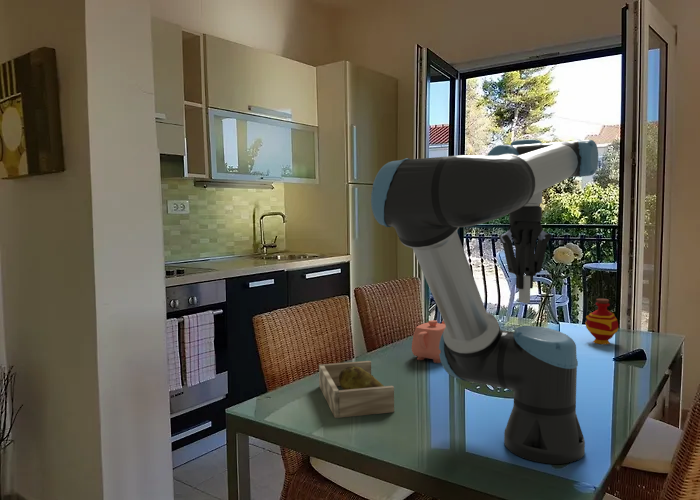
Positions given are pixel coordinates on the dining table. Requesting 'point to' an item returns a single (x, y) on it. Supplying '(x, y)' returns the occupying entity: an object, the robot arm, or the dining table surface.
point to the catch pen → (353, 393)
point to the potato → (357, 379)
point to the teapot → (428, 340)
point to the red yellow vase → (602, 323)
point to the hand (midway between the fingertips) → (524, 301)
